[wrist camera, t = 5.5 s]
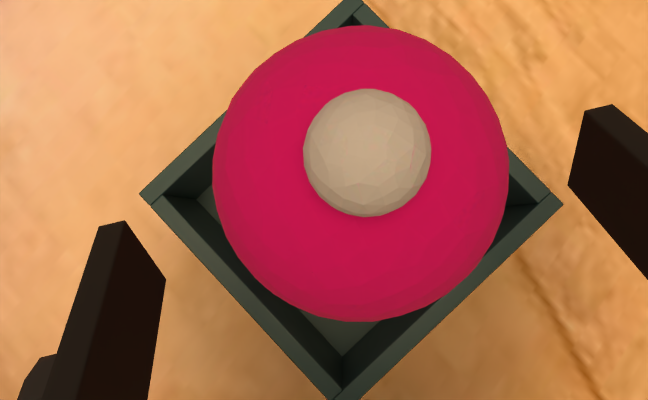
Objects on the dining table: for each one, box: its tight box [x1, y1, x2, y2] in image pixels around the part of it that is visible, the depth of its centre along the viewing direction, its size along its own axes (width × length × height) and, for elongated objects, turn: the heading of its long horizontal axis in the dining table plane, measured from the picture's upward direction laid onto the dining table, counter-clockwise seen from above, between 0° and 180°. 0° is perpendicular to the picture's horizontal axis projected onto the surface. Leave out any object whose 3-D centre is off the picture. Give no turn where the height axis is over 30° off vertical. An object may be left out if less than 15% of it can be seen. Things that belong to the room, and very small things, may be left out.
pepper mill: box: [212, 25, 509, 322], centre depth 15 cm, size 7×7×20 cm
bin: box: [139, 0, 563, 400], centre depth 23 cm, size 14×14×6 cm
